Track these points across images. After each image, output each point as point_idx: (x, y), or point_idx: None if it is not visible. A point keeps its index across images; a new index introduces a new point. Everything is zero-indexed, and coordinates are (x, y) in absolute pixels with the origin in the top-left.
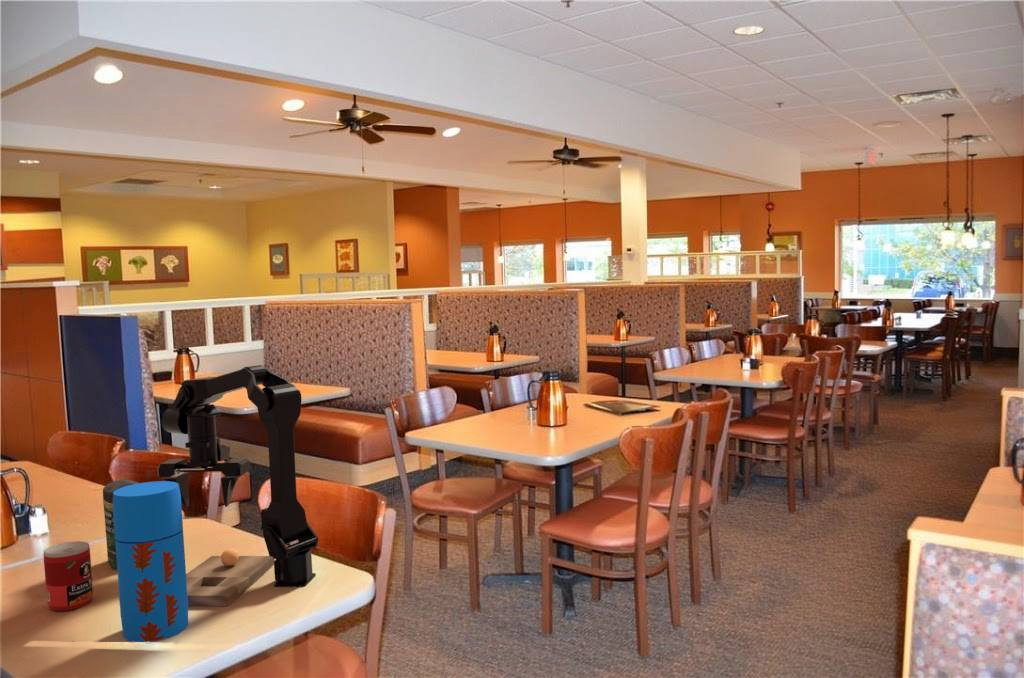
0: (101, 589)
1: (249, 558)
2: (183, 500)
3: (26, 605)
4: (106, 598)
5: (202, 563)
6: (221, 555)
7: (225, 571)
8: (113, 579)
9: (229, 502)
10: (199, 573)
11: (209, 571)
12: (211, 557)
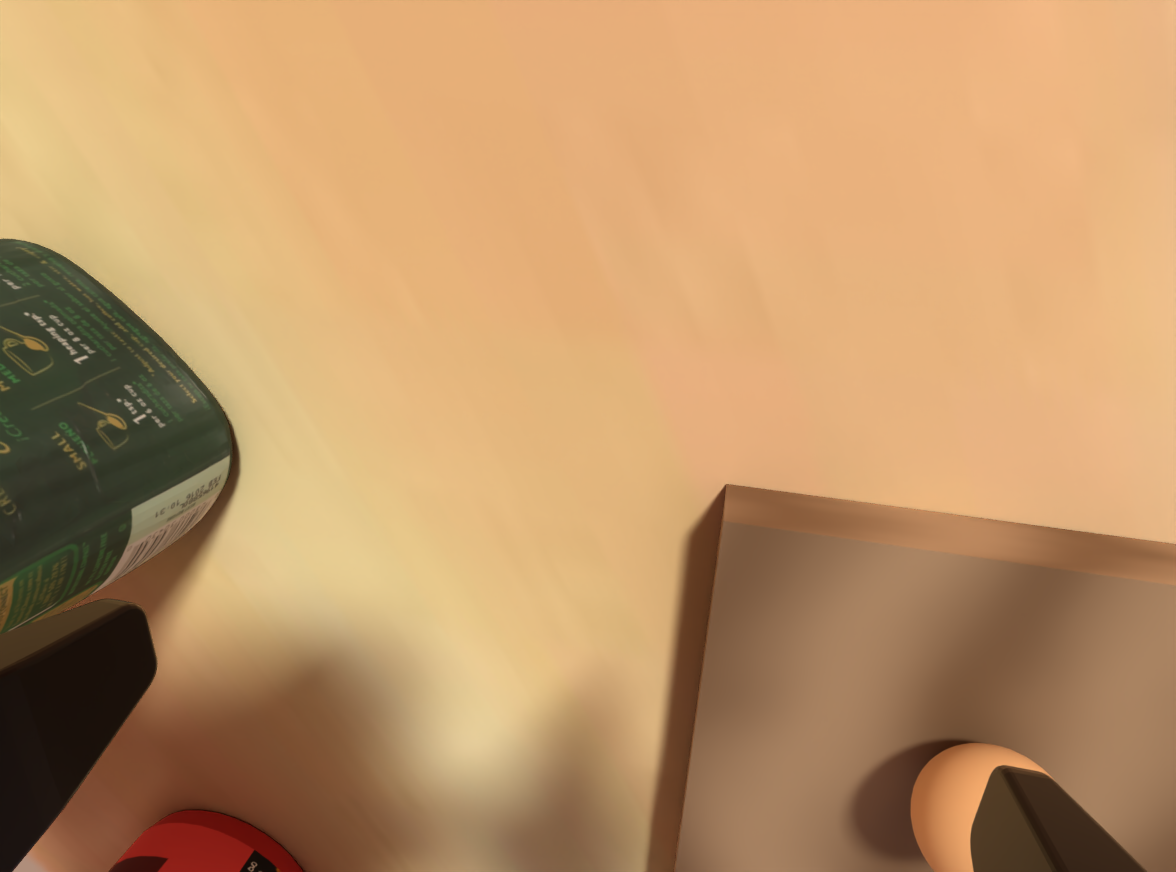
0: (244, 752)
1: (1125, 644)
2: (31, 828)
3: (69, 845)
4: (352, 859)
5: (713, 677)
6: (931, 867)
7: None
8: (198, 631)
9: (1098, 841)
10: (771, 848)
11: (834, 834)
12: (734, 557)
